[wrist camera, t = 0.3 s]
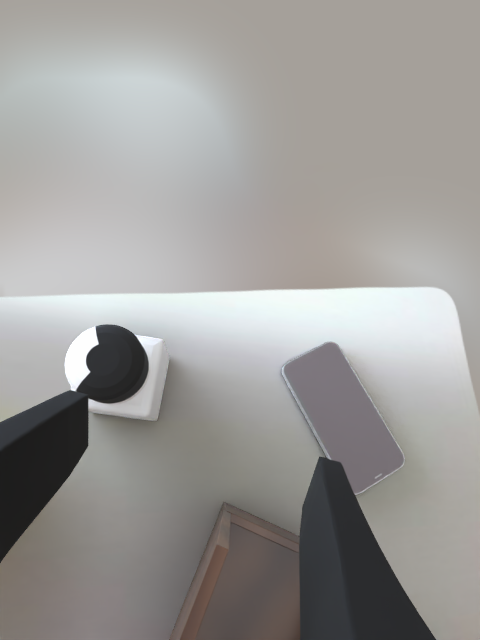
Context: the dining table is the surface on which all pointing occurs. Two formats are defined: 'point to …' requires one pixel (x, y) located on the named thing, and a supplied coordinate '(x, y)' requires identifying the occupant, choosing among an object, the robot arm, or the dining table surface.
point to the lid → (205, 581)
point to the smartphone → (343, 416)
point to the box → (253, 584)
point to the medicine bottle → (118, 371)
